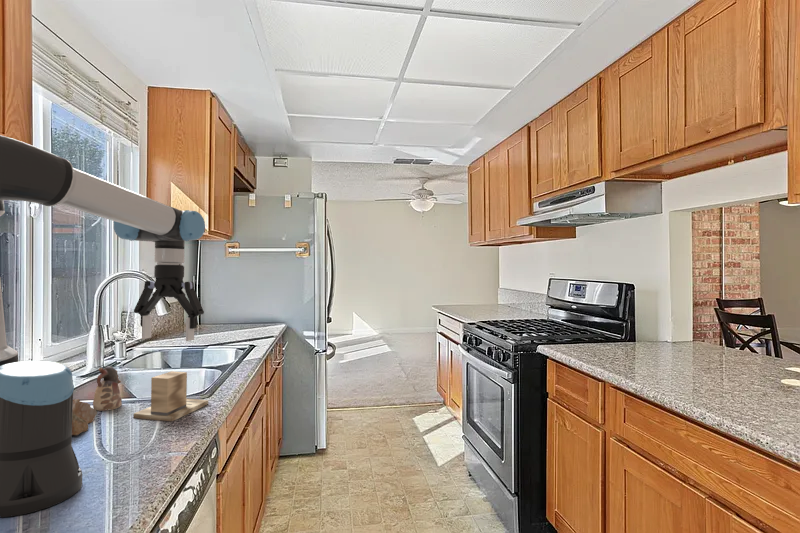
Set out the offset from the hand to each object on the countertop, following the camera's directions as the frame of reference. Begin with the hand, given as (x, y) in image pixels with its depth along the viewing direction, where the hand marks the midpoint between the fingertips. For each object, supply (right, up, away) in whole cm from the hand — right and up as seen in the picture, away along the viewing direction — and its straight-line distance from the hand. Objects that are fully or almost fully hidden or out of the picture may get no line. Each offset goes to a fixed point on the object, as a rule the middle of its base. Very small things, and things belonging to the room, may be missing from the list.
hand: (168, 339), depth 128 cm
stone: (-19, -21, -12) cm, 31 cm away
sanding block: (+1, -20, -1) cm, 20 cm away
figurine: (-21, -21, +5) cm, 30 cm away
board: (0, -21, +3) cm, 21 cm away
